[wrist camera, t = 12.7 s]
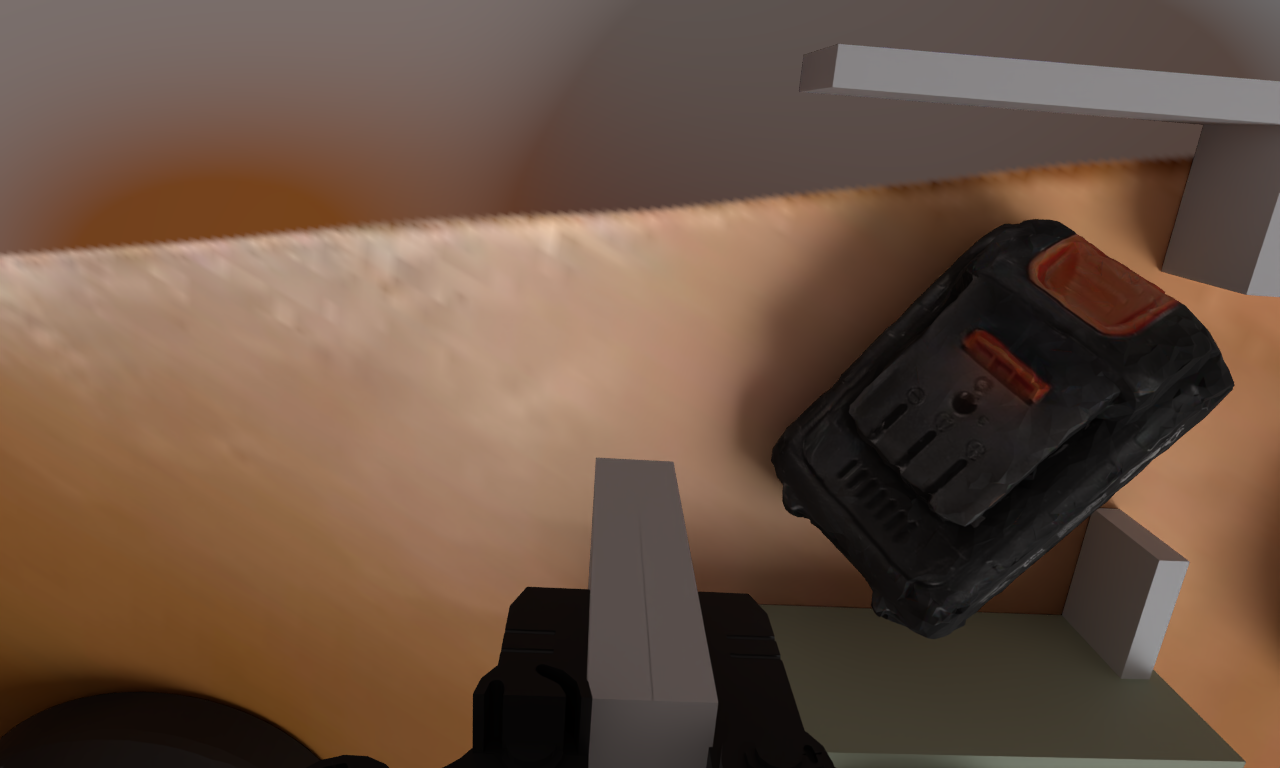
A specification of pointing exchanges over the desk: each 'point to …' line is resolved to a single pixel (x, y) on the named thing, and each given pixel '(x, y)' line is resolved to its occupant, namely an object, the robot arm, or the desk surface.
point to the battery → (996, 420)
